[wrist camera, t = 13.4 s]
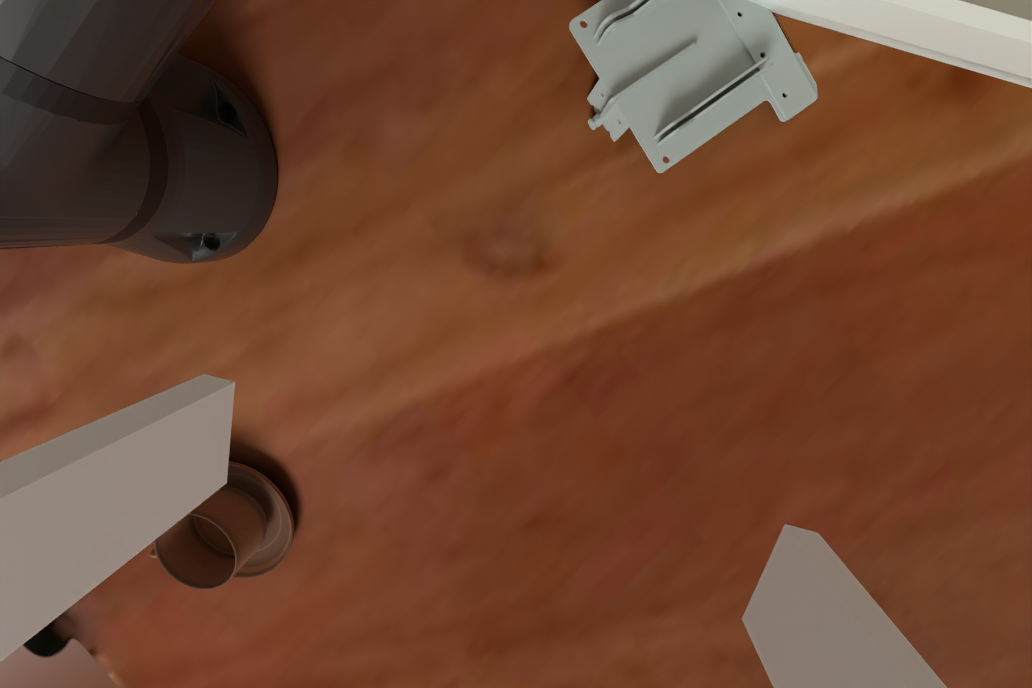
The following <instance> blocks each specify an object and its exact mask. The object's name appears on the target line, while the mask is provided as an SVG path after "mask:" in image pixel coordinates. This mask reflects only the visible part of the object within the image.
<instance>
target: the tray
mask: <svg viewBox="0 0 1032 688" xmlns="http://www.w3.org/2000/svg"><path fill="white" fill-rule="evenodd" d="M748 1H750V2H753V3H755V4H758V5H760V6H763V7H765V8H768V9H770V10H771V12H773V13H776V14H780V15H783V16H787V17H790V18H793V19H797V20H800V21H804V22H807V23H810V24H814V25H817V26H821V27H824V28H828V29H831V30H834V31H838V32H841V33H845V34H848V35H852V36H855V37H858V38H862V39H865V40H869V41H872V42H876V43H879V44H882V45H886V46H889V47H893V48H896V49H900V50H903V51H906V52H910V53H913V54H917V55H920V56H924V57H927V58H930V59H934V60H937V61H941V62H944V63H948V64H951V65H954V66H958V67H961V68H965V69H968V70H972V71H975V72H978V73H982V74H985V75H989V76H992V77H996V78H999V79H1002V80H1006V81H1009V82H1013V83H1016V84H1019V85H1023V86H1026V87H1030V88H1032V0H748Z"/></svg>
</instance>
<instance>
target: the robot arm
mask: <svg viewBox="0 0 1032 688" xmlns="http://www.w3.org/2000/svg"><path fill="white" fill-rule="evenodd" d="M216 1H217V0H0V249H11V248H30V247H49V246H68V245H84V244H107V245H110V246H113V247H117V248H120V249H123V250H127V251H130V252H133V253H137V254H140V255H143V256H147V257H150V258H153V259H157V260H161V261H165V262H172V263H199V262H209V261H216V260H221V259H224V258H227V257H230V256H232V255H234V254H236V253H238V252H240V251H241V250H243V249H244V248H245V247H247V246H248V245H249V244H250V243H251V242H252V241H253V240H254V239H255V238H256V237H257V236H258V235H259V233H260V232H261V231H262V229H263V228H264V226H265V224H266V222H267V221H268V218H269V216H270V214H271V211H272V208H273V205H274V201H275V196H276V189H277V165H276V158H275V153H274V148H273V145H272V141H271V138H270V135H269V133H268V130H267V128H266V126H265V124H264V122H263V120H262V118H261V116H260V115H259V113H258V111H257V110H256V108H255V107H254V105H253V104H252V103H251V101H250V100H249V99H248V98H247V96H246V95H245V94H244V93H243V92H242V91H241V90H240V89H239V88H238V87H237V86H236V85H235V84H234V83H232V82H231V81H230V80H229V79H227V78H226V77H225V76H223V75H222V74H220V73H218V72H217V71H215V70H213V69H211V68H209V67H207V66H204V65H202V64H200V63H198V62H195V61H193V60H191V59H189V58H186V57H184V56H181V55H178V54H177V53H178V52H179V50H180V49H181V48H182V46H183V45H184V44H185V42H186V41H187V40H188V38H189V37H190V36H191V34H192V33H193V32H194V30H195V29H196V28H197V26H198V25H199V24H200V22H201V21H202V20H203V18H204V17H205V16H206V14H207V13H208V12H209V10H210V9H211V8H212V6H213V5H214V4H215V2H216ZM234 388H235V382H232V381H229V380H225V379H221V378H217V377H213V376H209V375H205V374H203V375H201V376H198V377H196V378H194V379H191V380H189V381H187V382H184V383H182V384H180V385H177V386H175V387H173V388H170V389H168V390H166V391H163V392H161V393H159V394H157V395H154V396H152V397H150V398H147V399H145V400H143V401H140V402H138V403H136V404H133V405H131V406H129V407H126V408H124V409H122V410H119V411H117V412H115V413H112V414H110V415H108V416H105V417H103V418H101V419H98V420H96V421H94V422H92V423H89V424H87V425H85V426H82V427H80V428H78V429H75V430H73V431H71V432H68V433H66V434H64V435H61V436H59V437H57V438H54V439H52V440H50V441H47V442H45V443H43V444H40V445H38V446H36V447H33V448H31V449H29V450H26V451H24V452H22V453H20V454H17V455H15V456H13V457H10V458H8V459H6V460H3V461H0V662H1V661H2V660H3V659H5V658H6V657H7V656H8V655H10V654H11V653H12V652H13V651H15V650H16V649H17V648H19V647H20V646H21V645H22V644H24V643H25V642H26V641H28V640H29V639H30V638H31V637H33V636H34V635H35V634H36V633H38V632H39V631H40V630H41V629H43V628H44V627H45V626H47V625H48V624H49V623H50V622H52V621H53V620H54V619H55V618H57V617H58V616H59V615H60V614H62V613H63V612H64V611H66V610H67V609H68V608H69V607H71V606H72V605H73V604H74V603H76V602H77V601H78V600H79V599H81V598H82V597H83V596H85V595H86V594H87V593H88V592H90V591H91V590H92V589H93V588H95V587H96V586H97V585H98V584H100V583H101V582H102V581H104V580H105V579H106V578H107V577H109V576H110V575H111V574H112V573H114V572H115V571H116V570H117V569H119V568H120V567H121V566H123V565H124V564H125V563H126V562H128V561H129V560H130V559H131V558H133V557H134V556H135V555H136V554H138V553H139V552H140V551H142V550H143V549H144V548H145V547H147V546H148V545H149V544H150V543H152V542H153V541H154V540H155V539H157V538H158V537H159V536H161V535H162V534H163V533H164V532H166V531H167V530H168V529H169V528H171V527H172V526H173V525H174V524H176V523H177V522H178V521H180V520H181V519H182V518H183V517H185V516H186V515H187V514H188V513H190V512H191V511H192V510H193V509H195V508H196V507H197V506H199V505H200V504H201V503H202V502H204V501H205V500H206V499H207V498H209V497H210V496H211V495H212V494H214V493H215V492H216V491H218V490H219V489H220V488H221V487H223V486H224V485H225V484H226V483H227V475H228V462H229V450H230V437H231V425H232V413H233V400H234ZM742 620H743V623H744V625H745V627H746V629H747V631H748V633H749V636H750V638H751V640H752V642H753V644H754V646H755V649H756V651H757V653H758V655H759V657H760V659H761V662H762V664H763V666H764V668H765V670H766V672H767V675H768V677H769V679H770V681H771V683H772V686H773V688H947V687H946V686H945V685H944V683H943V682H942V681H941V680H940V679H939V677H938V676H937V675H936V674H935V673H934V671H933V670H932V669H931V668H930V667H929V665H928V664H927V663H926V662H925V661H924V659H923V658H922V657H921V656H920V655H919V653H918V652H917V651H916V650H915V649H914V647H913V646H912V645H911V644H910V643H909V641H908V640H907V639H906V638H905V637H904V635H903V634H902V633H901V632H900V631H899V629H898V628H897V627H896V626H895V625H894V623H893V622H892V621H891V620H890V619H889V617H888V616H887V615H886V614H885V613H884V611H883V610H882V609H881V608H880V607H879V605H878V604H877V603H876V602H875V601H874V599H873V598H872V597H871V596H870V595H869V593H868V592H867V591H866V590H865V589H864V587H863V586H862V585H861V584H860V583H859V581H858V580H857V579H856V578H855V577H854V575H853V574H852V573H851V572H850V571H849V569H848V568H847V567H846V566H845V565H844V563H843V562H842V561H841V560H840V559H839V557H838V556H837V555H836V554H835V553H834V551H833V550H832V549H831V548H830V547H829V545H828V544H827V543H826V542H825V541H824V539H823V538H822V537H821V536H820V535H819V533H817V532H813V531H809V530H805V529H802V528H798V527H794V526H790V525H786V524H785V525H784V527H783V529H782V531H781V534H780V536H779V538H778V540H777V543H776V545H775V547H774V549H773V551H772V554H771V556H770V558H769V560H768V562H767V565H766V567H765V569H764V571H763V573H762V576H761V578H760V580H759V582H758V584H757V587H756V589H755V591H754V593H753V595H752V598H751V600H750V602H749V604H748V606H747V609H746V611H745V613H744V615H743V617H742Z"/></svg>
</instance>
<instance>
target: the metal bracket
mask: <svg viewBox="0 0 1032 688" xmlns="http://www.w3.org/2000/svg"><path fill="white" fill-rule="evenodd" d="M738 12H739V13H740V14H741V17H739V16H738V14H737V13H738ZM581 21H585V22H586V23H587V27H586V28H582V27H581V26H580V22H581ZM569 29H570V31H571V33H572V34H573V36H574V38H575V39H576V41H577V43H578V44H579V46H580V47H581V49H582V51H583V52H584V54H585V56H586V57H587V59H588V60H589V62H590V64H591V65H592V67H593V69H594V70H595V72H596V73H597V75H598V77H599V78H600V79H599V80H598V82H597V83H596V85H595V86H594V88H593V90H592V91H591V93H590V94H589V96H588V97H587V99H588V101H589V103H590V104H591V105H593V106H594V111H595V112H596V115H595V116H594V117H593V118H592V119H589V121H588V124H589V126H590V128H591V129H592V130H595V129H596V127H597V128H598V127H599V126H601V125H602V124H603V125H604V127H605V128H606V130H607V131H609V132H610V136H611V138H612V140H613V141H614V142H615V141H616V140H617V139H618V138H619V137H620V136H621V135H622V134H623V133H624V132H625V131H626V130H627V129H628V128H629V127H630V129H631V131H632V132H633V134H634V135H635V137H636V139H637V140H638V142H639V144H640V145H641V147H642V148H643V150H644V152H645V153H646V155H647V157H648V158H649V160H650V162H651V163H652V165H653V166H654V168H655V170H656V171H657V172H658V173H662V172H664V171H666V170H667V169H668V168H670V167H671V166H673V165H674V164H676V163H677V162H678V161H680V160H681V159H683V158H684V157H685V156H687V155H688V154H690V153H691V152H693V151H694V150H695V149H697V148H698V147H700V146H701V145H702V144H704V143H705V142H707V141H708V140H709V139H711V138H712V137H714V136H715V135H717V134H718V133H719V132H721V131H722V130H724V129H725V128H726V127H728V126H729V125H731V124H732V123H734V122H735V121H736V120H738V119H739V118H741V117H742V116H743V115H745V114H746V113H748V112H749V111H750V110H752V109H753V108H755V107H756V106H758V105H759V104H760V103H762V102H763V101H769V102H770V103H771V105H772V107H773V109H774V111H775V112H776V114H777V116H778V118H779V119H780V121H782V122H785V121H787V120H789V119H790V118H792V117H793V116H795V115H796V114H797V113H799V112H800V111H802V110H803V109H804V108H806V107H807V106H809V105H810V104H811V103H813V102H814V101H815V100H816V99H817V96H818V95H817V84H816V83H815V81H814V79H813V77H812V75H811V74H810V72H809V70H808V68H807V66H806V64H804V63H803V59H802V57H801V55H800V54H799V52H798V53H794V52H793V51H792V49H791V47H790V45H789V43H788V41H787V40H786V38H785V36H784V34H783V32H782V30H781V28H780V27H779V25H778V23H777V21H776V19H775V17H774V16H773V14H772V12H771V10H770V9H768V8H765V7H763V6H760V5H758V4H755V3H753V2H750V1H748V0H601V1H600V2H598V3H597V4H595V5H594V6H592V7H591V8H589V9H588V10H586V11H585V12H583V13H582V14H580V15H579V16H577V17H576V18H574V19H573V20H572V21H571V22H570V24H569ZM761 53H762V54H763V56H764V58H762V57H761V56H760V54H761ZM783 93H784V94H785V96H786V98H784V97H783ZM664 156H667V157H668V159H669V162H668V163H667V164H666V163H664V162H663V160H662V159H663V157H664Z"/></svg>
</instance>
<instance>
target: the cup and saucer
mask: <svg viewBox="0 0 1032 688" xmlns="http://www.w3.org/2000/svg"><path fill="white" fill-rule="evenodd" d="M293 535H294V523H293V517H292V513H291V510H290V507H289V505H288V503H287V501H286V499H285V498H284V496H283V495H282V493H281V492H280V490H279V489H278V488H277V487H276V486H275V485H274V484H273V483H272V482H271V481H270V480H269V479H268V478H267V477H265V476H264V475H263V474H261V473H260V472H258V471H256V470H254V469H253V468H250V467H248V466H246V465H243V464H240V463H236V462H231V461H229V462H228V475H227V483H226V484H225V485H224V486H223V487H221V488H220V489H219V490H218V491H216V492H215V493H214V494H212V495H211V496H210V497H209V498H207V499H206V500H205V501H204V502H202V503H201V504H200V505H199V506H197V507H196V508H195V509H193V510H192V511H191V512H190V513H188V514H187V515H186V516H185V517H183V518H182V519H181V520H180V521H178V522H177V523H176V524H174V525H173V526H172V527H171V528H169V529H168V530H167V531H166V532H164V533H163V534H162V535H161V536H159V537H158V538H157V539H155V540H154V549H153V550H152V551H151V553H150V556H151V557H152V558H158V560H159V562H160V564H161V566H162V567H163V568H164V570H165V571H166V572H167V573H168V574H169V575H170V576H171V577H173V578H174V579H175V580H177V581H178V582H180V583H182V584H184V585H186V586H189V587H191V588H195V589H203V590H208V589H214V588H218V587H220V586H222V585H224V584H225V583H227V582H228V581H229V580H230V579H231V578H232V577H238V578H249V577H256V576H260V575H263V574H265V573H268V572H269V571H271V570H273V569H274V568H276V567H277V566H278V565H279V564H280V563H281V562H282V561H283V559H284V558H285V557H286V555H287V553H288V551H289V549H290V547H291V544H292V541H293Z"/></svg>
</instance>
